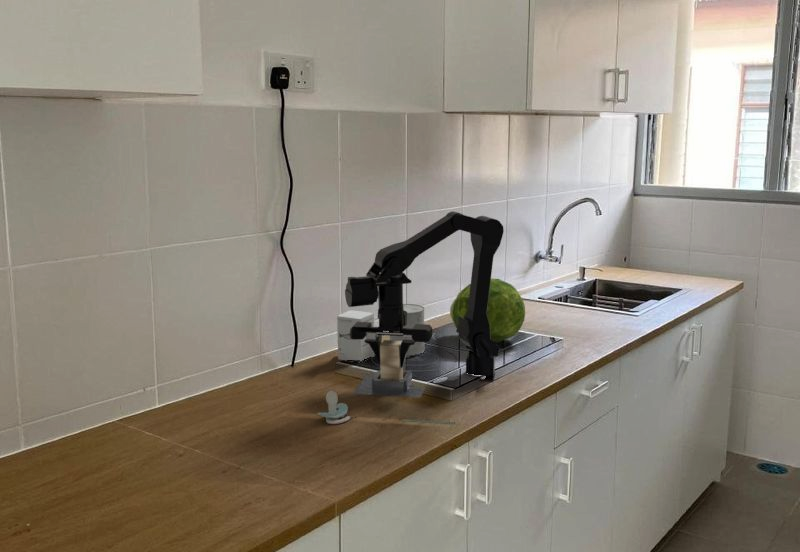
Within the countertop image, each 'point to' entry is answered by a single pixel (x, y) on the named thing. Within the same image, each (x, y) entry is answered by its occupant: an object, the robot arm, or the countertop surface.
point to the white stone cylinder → (413, 317)
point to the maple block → (390, 360)
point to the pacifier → (333, 413)
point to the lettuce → (495, 309)
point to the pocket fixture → (389, 386)
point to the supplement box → (353, 347)
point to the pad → (428, 421)
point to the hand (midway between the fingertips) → (391, 366)
